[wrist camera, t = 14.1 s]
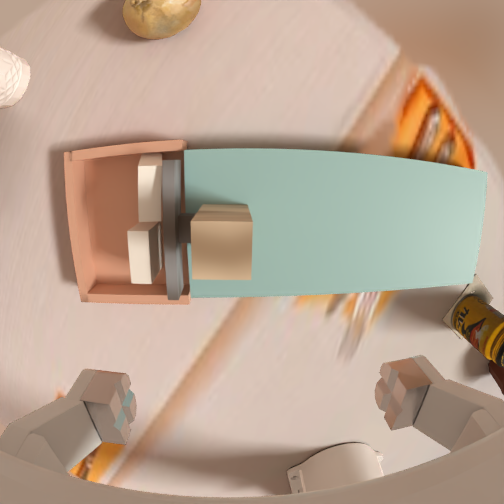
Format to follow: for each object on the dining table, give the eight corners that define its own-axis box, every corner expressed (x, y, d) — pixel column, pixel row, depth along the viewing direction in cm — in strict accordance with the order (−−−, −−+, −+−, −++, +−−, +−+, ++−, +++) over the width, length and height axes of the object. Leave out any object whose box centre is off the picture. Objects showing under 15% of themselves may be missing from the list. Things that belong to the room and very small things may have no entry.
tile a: (151, 284, 28) (131, 283, 27) (162, 266, 32) (145, 265, 32) (148, 231, 26) (127, 230, 26) (160, 220, 31) (142, 220, 31)
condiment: (441, 319, 38) (489, 363, 26) (475, 273, 36) (530, 307, 25) (460, 339, 39) (504, 380, 28) (491, 297, 38) (540, 330, 26)
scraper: (245, 287, 30) (249, 330, 22) (173, 286, 29) (155, 328, 22) (248, 160, 26) (254, 159, 19) (169, 160, 26) (145, 160, 18)
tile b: (161, 221, 26) (138, 222, 26) (160, 201, 30) (141, 201, 30) (162, 165, 24) (138, 165, 23) (162, 153, 28) (141, 153, 27)
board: (455, 272, 36) (472, 283, 32) (195, 282, 34) (190, 297, 30) (467, 169, 32) (487, 172, 28) (190, 151, 30) (184, 149, 26)
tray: (193, 290, 34) (189, 304, 31) (93, 289, 33) (81, 301, 30) (187, 141, 29) (181, 139, 26) (79, 152, 29) (63, 152, 25)
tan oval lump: (152, -15, 23) (137, -46, 17) (215, -3, 25) (211, -36, 18) (121, 39, 25) (96, 15, 19) (184, 54, 27) (172, 28, 20)
